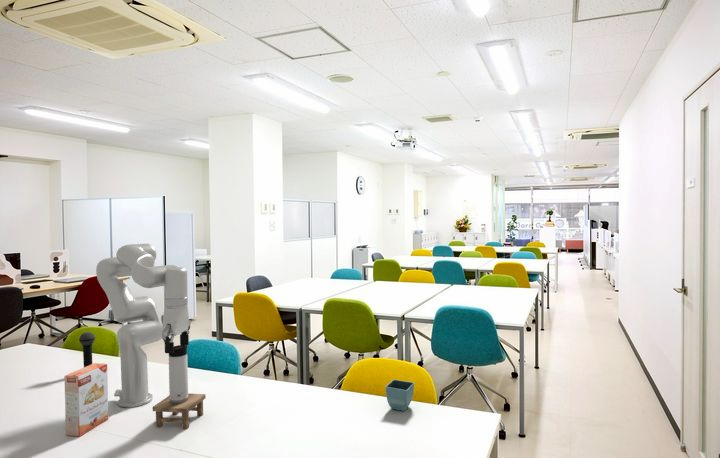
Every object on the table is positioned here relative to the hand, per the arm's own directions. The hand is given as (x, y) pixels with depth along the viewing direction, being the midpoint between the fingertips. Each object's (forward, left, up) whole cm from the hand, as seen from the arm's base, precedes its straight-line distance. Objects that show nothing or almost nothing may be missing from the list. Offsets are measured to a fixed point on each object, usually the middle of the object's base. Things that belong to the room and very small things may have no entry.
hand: (177, 348), depth 167 cm
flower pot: (+79, +21, -26) cm, 85 cm away
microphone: (-71, +41, -26) cm, 86 cm away
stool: (+1, 0, -26) cm, 26 cm away
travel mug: (0, 0, -19) cm, 19 cm away
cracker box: (-29, -9, -26) cm, 41 cm away
